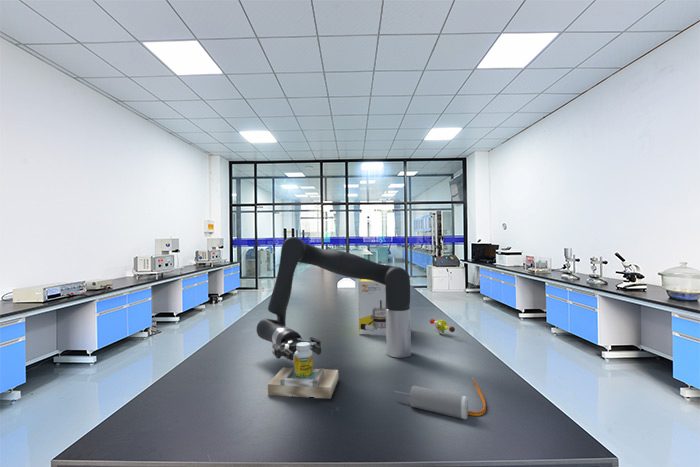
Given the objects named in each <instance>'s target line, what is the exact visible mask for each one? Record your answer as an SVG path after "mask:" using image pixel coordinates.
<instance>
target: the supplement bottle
mask: <svg viewBox="0 0 700 467" xmlns="http://www.w3.org/2000/svg"><path fill="white" fill-rule="evenodd" d="M310 348H311V347H310V343H308V342H300V343H297V345H296V349H297V351H296V352H295V353H294V354H293V361H294V364H293V367H294V370H295V378H296V379H310V378H311V377H312V376H313V369H314V364H313V363H314V362H313V361H314V360H313V359H314V357H313V356H314V355H313V351H311V350H310Z"/></svg>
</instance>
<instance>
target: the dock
mask: <svg viewBox="0 0 700 467" xmlns="http://www.w3.org/2000/svg"><path fill="white" fill-rule="evenodd" d="M338 382H339V369H328V368H327V369H325V368H323V367H320V368H313V376H312V377H311V378H310V379H296V378H295V370H294V366H291V367H282V368H281V369H280V370H279V371H278V372H277V373H276V374H275V376H274V377H273V378H272V379H271V380H270V381H269V382H268V383H267V395H268V396H278V397H292V396H293V397H296V398H309V397H314V398H313V399H329V400H330V399H331V398H332V396H333V394H334V393H335V392H334V391H335V390H336V386H337V384H338Z"/></svg>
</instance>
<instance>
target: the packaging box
mask: <svg viewBox="0 0 700 467" xmlns="http://www.w3.org/2000/svg"><path fill="white" fill-rule="evenodd" d="M357 284H358V334H372V335H371V336H386V285H384V284H381V283H378V282H375V281H372V280H367V279H358V283H357Z"/></svg>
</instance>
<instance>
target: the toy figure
mask: <svg viewBox="0 0 700 467" xmlns="http://www.w3.org/2000/svg"><path fill="white" fill-rule="evenodd" d="M429 323H430V324H432V325H433V324H435V329H437V330H438V331H439V333H438V334H439V335H442V336H443V335H445V331H446V330H448V331H449V332H451V333H454V332H455V331H456V328H455V327H454V326H448V323H447V321H446V320H444V319H438V320H435V319H434V318H430V320H429ZM440 333H442V334H440Z"/></svg>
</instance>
